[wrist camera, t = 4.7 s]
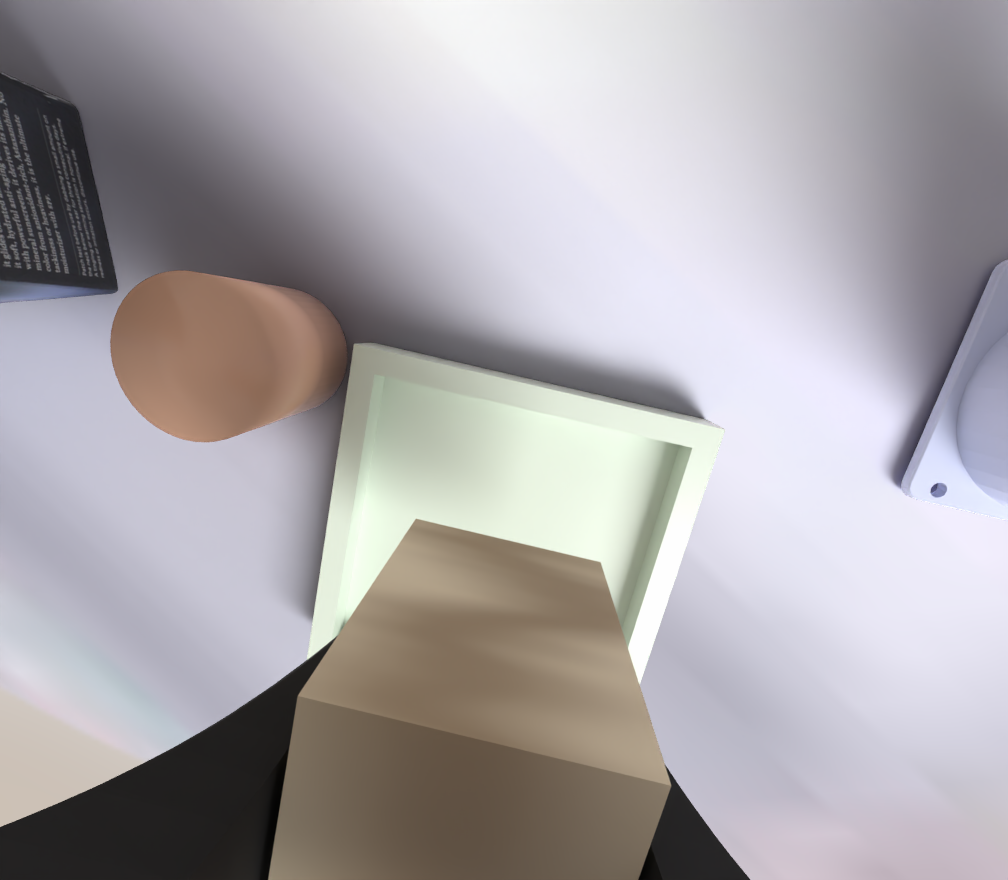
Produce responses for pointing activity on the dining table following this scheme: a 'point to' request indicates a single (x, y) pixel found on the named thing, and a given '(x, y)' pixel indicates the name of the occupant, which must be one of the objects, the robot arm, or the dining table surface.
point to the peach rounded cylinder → (223, 353)
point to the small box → (47, 201)
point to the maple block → (473, 726)
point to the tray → (510, 479)
